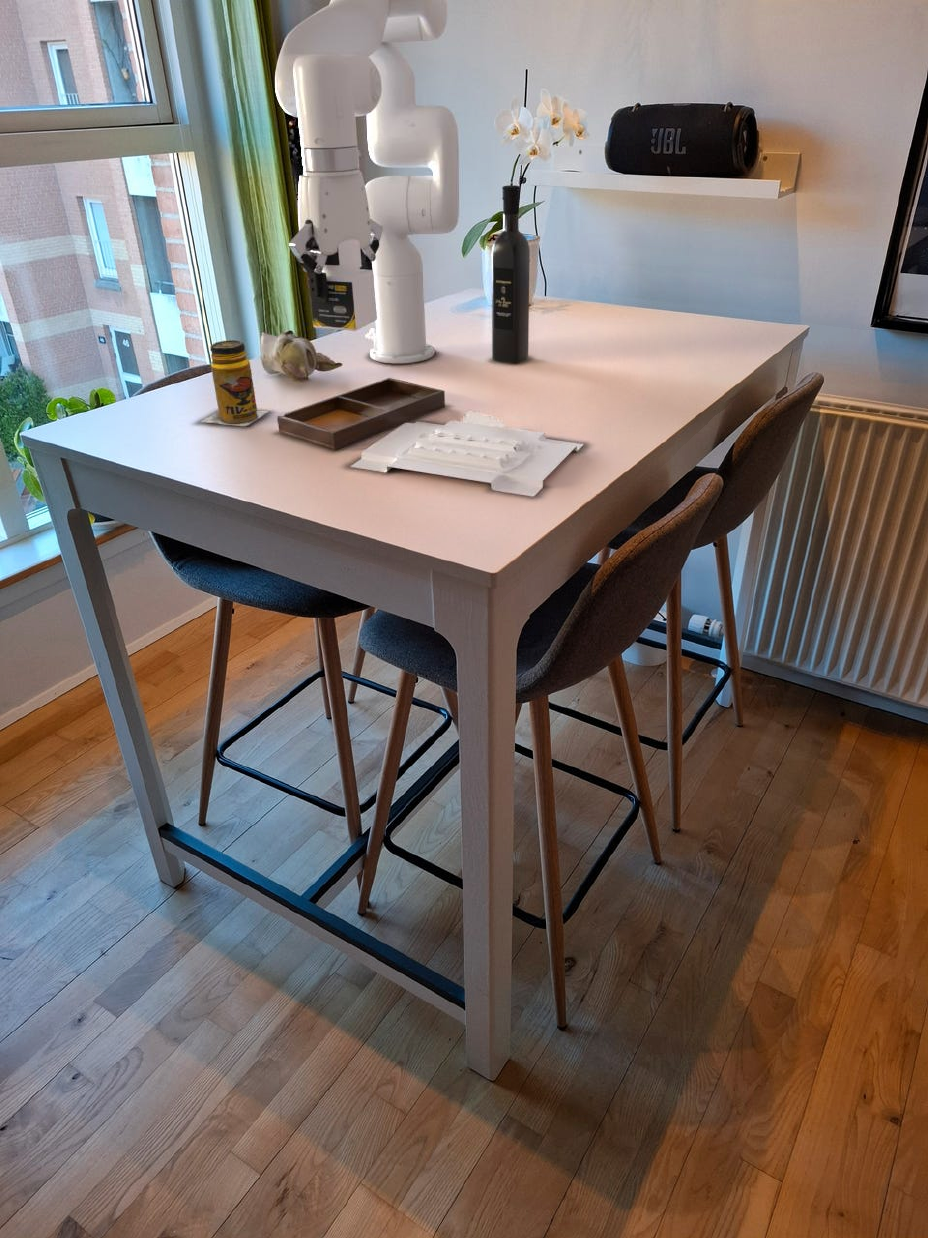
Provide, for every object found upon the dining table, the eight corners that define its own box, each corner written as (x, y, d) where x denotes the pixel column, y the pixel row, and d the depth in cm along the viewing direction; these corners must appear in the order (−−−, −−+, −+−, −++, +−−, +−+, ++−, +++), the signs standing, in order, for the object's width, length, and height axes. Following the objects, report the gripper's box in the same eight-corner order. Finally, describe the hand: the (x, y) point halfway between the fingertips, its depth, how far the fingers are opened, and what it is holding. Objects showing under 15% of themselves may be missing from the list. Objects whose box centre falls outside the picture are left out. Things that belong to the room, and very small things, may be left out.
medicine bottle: (312, 328, 129) (302, 239, 123) (336, 316, 135) (327, 231, 129) (355, 331, 127) (348, 241, 121) (378, 319, 133) (371, 233, 126)
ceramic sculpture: (281, 317, 165) (343, 331, 159) (286, 362, 170) (345, 378, 164) (239, 330, 158) (302, 346, 151) (245, 377, 163) (306, 395, 156)
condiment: (246, 427, 140) (234, 350, 134) (200, 422, 143) (186, 347, 136) (268, 412, 146) (258, 338, 140) (223, 408, 149) (211, 335, 142)
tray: (534, 496, 115) (534, 469, 113) (350, 474, 126) (346, 449, 124) (584, 443, 130) (584, 419, 128) (416, 427, 141) (414, 405, 139)
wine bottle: (516, 364, 166) (518, 188, 151) (490, 361, 169) (488, 187, 153) (530, 357, 170) (532, 184, 155) (504, 353, 173) (504, 183, 157)
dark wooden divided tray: (279, 432, 138) (276, 416, 136) (390, 392, 154) (389, 377, 152) (335, 450, 131) (333, 432, 129) (445, 406, 147) (444, 390, 145)
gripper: (357, 156, 127) (367, 282, 137) (262, 166, 116) (280, 303, 125) (395, 157, 123) (402, 287, 132) (301, 168, 112) (316, 310, 121)
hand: (343, 295), depth 129 cm, fingers closed on medicine bottle, 8 cm apart
